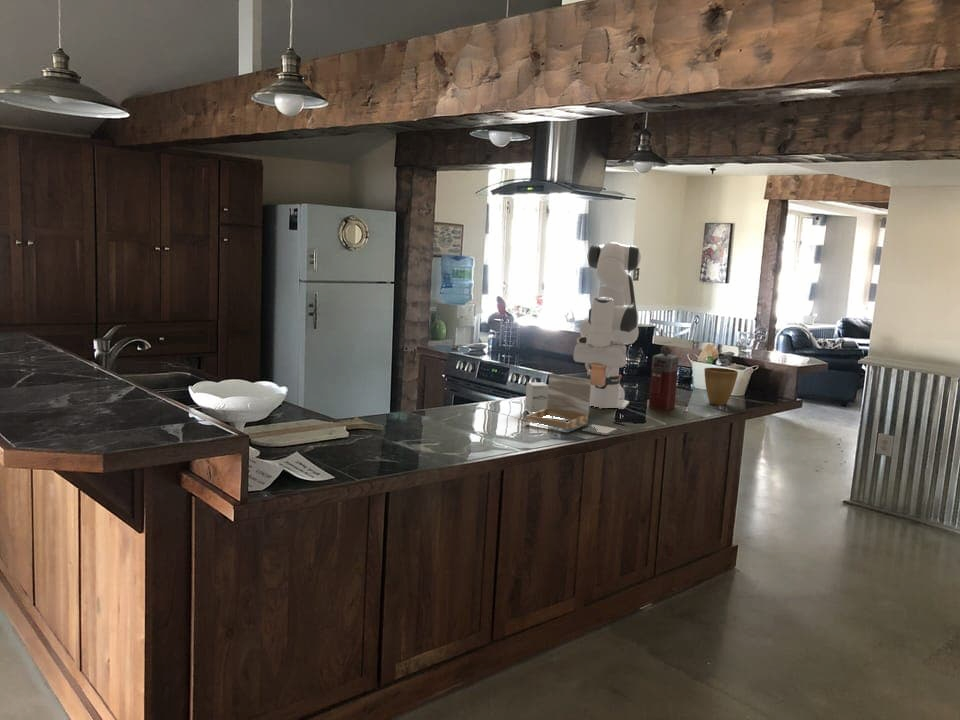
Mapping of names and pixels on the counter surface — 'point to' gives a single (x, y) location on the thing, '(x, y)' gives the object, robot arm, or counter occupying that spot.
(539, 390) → the supplement box
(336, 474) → the counter surface
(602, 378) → the terracotta pot
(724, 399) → the plant pot
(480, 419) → the counter surface
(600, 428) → the stone paver
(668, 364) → the red liquid bottle
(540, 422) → the cold frame
